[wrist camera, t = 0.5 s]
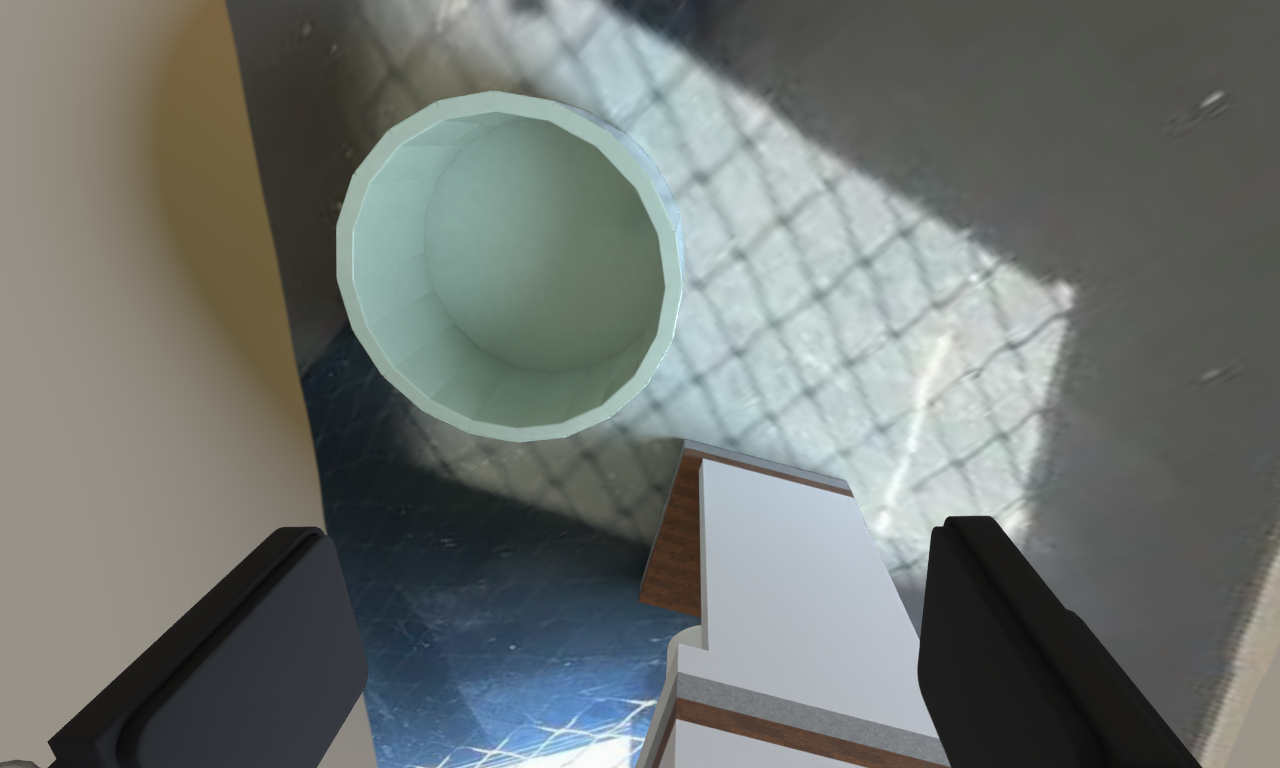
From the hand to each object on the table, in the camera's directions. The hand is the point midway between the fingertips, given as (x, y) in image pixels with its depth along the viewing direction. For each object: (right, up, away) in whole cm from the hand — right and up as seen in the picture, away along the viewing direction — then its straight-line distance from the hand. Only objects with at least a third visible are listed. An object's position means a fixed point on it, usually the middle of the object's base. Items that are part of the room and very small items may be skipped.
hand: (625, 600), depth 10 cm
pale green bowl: (-5, +11, +27) cm, 30 cm away
